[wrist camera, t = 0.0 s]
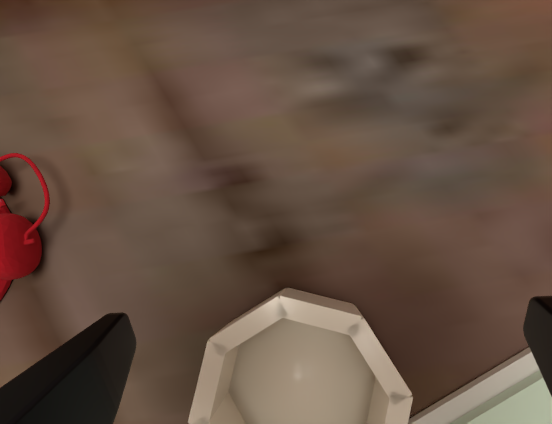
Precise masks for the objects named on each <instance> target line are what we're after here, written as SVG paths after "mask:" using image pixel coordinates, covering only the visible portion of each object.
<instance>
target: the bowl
mask: <svg viewBox="0 0 552 424" xmlns="http://www.w3.org/2000/svg"><path fill="white" fill-rule="evenodd" d="M412 400H413V397H412V393H411V391H410V390H409V388H408V387H407V385H406V384H405V382H404V380H403V379H402V377H401V376H400V374H399V373H398V371H397V369H396V368H395V366H394V365H393V363H392V361H391V360H390V358H389V357H388V355H387V354H386V352H385V350H384V349H383V347H382V346H381V344H380V343H379V341H378V339H377V338H376V336H375V335H374V333H373V331H372V330H371V328H370V327H369V325H368V324H367V322H366V320H365V319H364V317H363V316H362V314H361V313H360V312H359V310H358V309H357V307H356V306H354V304H352V303H348V302H344V301H340V300H336V299H332V298H328V297H324V296H320V295H316V294H312V293H308V292H304V291H300V290H296V289H292V288H287V289H286V288H284V289H283V290H281V291H280V292H278V293H276V294H275V295H273V296H272V297H270V298H268V299H267V300H265V301H264V302H262V303H260V304H259V305H257V306H256V307H254V308H252V309H251V310H249V311H247V312H246V313H244V314H243V315H241V316H239V317H238V318H236V319H235V320H233V321H231V322H230V323H229V324H227V325H226V326H225V327H223V328H222V329H221V330H220V331H218V332H217V333H216V334H214V335H213V336H212V337H211V338H209V340H208V341H207V345H206V349H205V354H204V358H203V362H202V366H201V370H200V374H199V378H198V383H197V387H196V391H195V395H194V399H193V403H192V407H191V411H190V416H189V420H188V423H189V424H408V420H409V415H410V410H411V405H412Z"/></svg>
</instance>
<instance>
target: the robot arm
mask: <svg viewBox="0 0 552 424" xmlns="http://www.w3.org/2000/svg"><path fill="white" fill-rule="evenodd" d="M523 331H524V336H525V338H526V341H527V343H528V345H529V347H530V350H531V352H532V354H533V356H534V359H535V361H536V363H537V365H538V368H539V370H540V372H541V374H542V376H543V379H544V381H545V383H546V385H547V388H548V390H549V392H550V394H551V396H552V296H537V297H533V298H531V300H530V301H529V304H528V309H527V313H526V317H525V321H524V326H523ZM135 349H136V337H135V334H134V331H133V329H132V326H131V323H130V320H129V318H128V316H127V314H125V313H109V314H106V315H105V316H103V317H102V318H101V319H99V320H98V321H96V322H95V323H93V324H92V325H90V326H89V327H88V328H86V329H85V330H83V331H82V332H80V333H79V334H77V335H76V336H74V337H73V338H72V339H70V340H69V341H67V342H66V343H64V344H63V345H61V346H60V347H59V348H57V349H56V350H54V351H53V352H51V353H50V354H48V355H47V356H46V357H44V358H43V359H41V360H40V361H38V362H37V363H35V364H34V365H33V366H31V367H30V368H28V369H27V370H25V371H24V372H22V373H21V374H20V375H18V376H17V377H15V378H14V379H12V380H11V381H9V382H8V383H7V384H5V385H4V386H2V387H1V388H0V424H113V422H114V419H115V416H116V414H117V411H118V408H119V405H120V402H121V398H122V395H123V391H124V388H125V384H126V381H127V377H128V374H129V370H130V367H131V363H132V360H133V357H134V353H135Z"/></svg>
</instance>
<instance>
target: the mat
mask: <svg viewBox="0 0 552 424" xmlns="http://www.w3.org/2000/svg"><path fill="white" fill-rule="evenodd" d="M537 371H539V368H538V365H537V363H536V361H535V359H534V356H533V354H532V352H531V350H530V347H528V348H527V349H525V350H523V351H522V352H520V353H518V354H517V355H515V356H513V357H512V358H510V359H508V360H507V361H505V362H503V363H502V364H500V365H498V366H497V367H495V368H493V369H492V370H490V371H488V372H487V373H485V374H483V375H482V376H480V377H478V378H477V379H475V380H473V381H472V382H470V383H468V384H467V385H465V386H463V387H462V388H460V389H458V390H457V391H455V392H453V393H451V394H450V395H448V396H446V397H445V398H443V399H441V400H440V401H438V402H436V403H435V404H433V405H431V406H430V407H428V408H426V409H425V410H423V411H421V412H420V413H418V414H416V415H415V416H413V417H411V418H410V419H409V420H408V423H409V424H450V423H452V422H453V421H455V420H457V419H458V418H460V417H462V416H463V415H465V414H467V413H468V412H470V411H472V410H473V409H475V408H477V407H478V406H480V405H482V404H483V403H485V402H487V401H488V400H490V399H492V398H494V397H495V396H497V395H499V394H500V393H502V392H504V391H505V390H507V389H509V388H510V387H512V386H514V385H515V384H517V383H519V382H520V381H522V380H524V379H525V378H527V377H529V376H530V375H532V374H534V373H536V372H537Z"/></svg>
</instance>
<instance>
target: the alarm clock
mask: <svg viewBox="0 0 552 424" xmlns="http://www.w3.org/2000/svg"><path fill="white" fill-rule="evenodd" d="M12 157H18V158H21V159H23V160H25V161H26V162H27V163H29V164H30V166H31V167H32V168H33V170H34V171H35V173H36V174H37V176H38V178H39V180H40V182H41V185H42V187H43V191H44V196H45V206H44V210H43V212H42V214H41V216H40V217H39V219H38V220H37V221H36V222H35V223H34V225H33V224H32V223H31V222H30V221H29V220H27V219H26V218H24V217H22V216H20V215H16V214H11V213H10V211H9V209H8V208H7V206H6V204H5V202H4V200H3V199H1V198H0V300H1V299H2V297H3V296H4V294H5V293H6V291H7V289H8V288H9V286H10V283H11V281H12V280H13V279H18V278H22V277H24V276H26V275H29V274H30V273H32V272H33V271H34V270H35V269H36V267H37V266H38V264H39V262H40V259H41V255H42V244H41V239H40V236H39V233H38V231H37V229H36V228H37V227H38V226H39V224H40V223H41V222H42V221H43V219H44V218H45V216H46V215H47V212H48V210H49V204H50V199H49V192H48V188H47V185H46V183H45V180H44V178H43V176H42V174H41V172H40V171H39V169H38V168H37V166H36V165H35V164H34V163H33V162H32V161H31V160H30V159H29V158H28V157H26V156H24V155H22V154H18V153H11V154H7V155H4V156H2V157H0V162H1V161H3V160H5V159H8V158H12ZM11 184H12V181H11V178H10V177H9V175H8V173H7V172H6V171H5V170H4V169H3V168H2V167H1V166H0V197H1V196H4V195H6V194H7V193H8V191H9V190H10V188H11Z"/></svg>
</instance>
